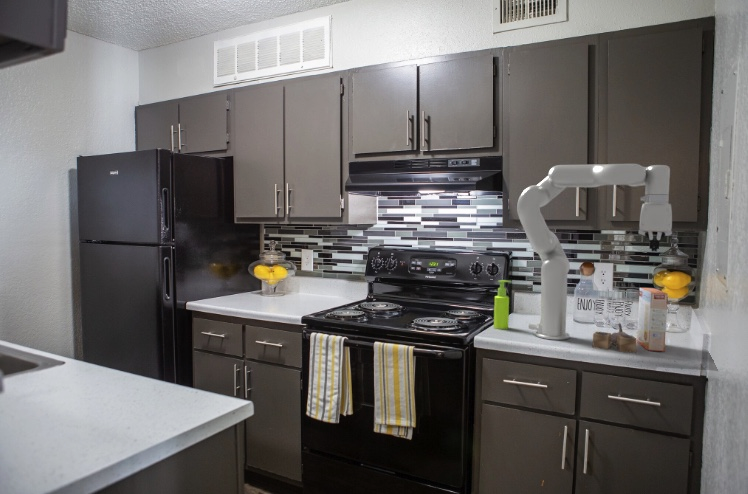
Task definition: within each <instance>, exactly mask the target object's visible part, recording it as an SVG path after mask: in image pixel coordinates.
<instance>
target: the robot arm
mask: <svg viewBox="0 0 748 494" xmlns="http://www.w3.org/2000/svg"><path fill="white" fill-rule="evenodd" d="M670 175H671V169H670V166H668V165H666V164H665V165H664V164H654V165H649V166H643V165H640V164H639V163H608V164H606V163H605V164H600V163H599V164H597V163H594V164H557V165H554V166H552V167H551V168H550V169H549V171H548V173H547V176H546V177H545V178H544V179H543V180H542V181H540V182H539V183H538V184H534V185H529V186H528V187H526V188H525V189H524V190H523V191H522V192H521V194H520V195H519V197H518V200H517V204H516V205H517V206H516V211H517V216H518V218H519V221H520V224H521V227H522V228H523V230H524V233H525V234H526V237H527V238H528V241H529V243H530V246H531V249H532V251H534V252H535V253H536V254H538V256H539V258H540V260H541V262H542V264H541V268H540V280H541V281H540V283H541V285H540V286H541V287H540V288H541V289H540V290H541V291H540V318H539V319H540V320H539V323H537V324H533V323H529V324H528V329H529V330H533V331H534V330H535V331H536V332H535V336H537V337H538V338H542V339H546V340H552V341H553V340H555V341H556V340H559V341H563V340H564V341H565V340H568V339H570V333H568V332H567V331H566V330H567V328H566V327H567V326H566V325H567V301H568V297H567V296H568V293H567V292H568V273H569V272H570V269H571V264H570V261H569V259H568V257H567V255H566V253H565V250H564V249H563V246H562V245H561V242H560V240H559V239H558V236H557V235H556V234H555V233H554V232H553V231H551V230H550V229H549V227H548V225H547V222H546V221H545V218H544V216H543V214H542V213H541V208H542V207H545V206H546V205H548V203H550V202H551V201H552V200H553V199H555V198H556V197H557V196H558V195H560V194H562V193H561V192H564V190H565V189H567V188H597V187H602V186H615V185H616V186H619V185H621V186H629V187H640V186H641V187H642V186H645V191H644V194H645V195H644V196H640V201H643V202H644V203H642V205H641V209H640V215H639V229H638V234H639V235H640V236H641V235H642V236H646V238H647V239H649V250H651V252H657V251H658V250H660V240H661V239H663V238H664V237H665V236H666V237H667V236H671V235H673V231H672V228H673V211H672V204H671V203H669V200H670V199H669V198H670V196H669V194H670ZM653 232H654V233H655V232H657V234H656V238H654V235H653Z"/></svg>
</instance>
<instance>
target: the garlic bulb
mask: <svg viewBox="0 0 748 494" xmlns="http://www.w3.org/2000/svg"><path fill="white" fill-rule="evenodd" d="M617 335H629V334H628V333H626V332H624V331H623V329H622V323H621V322H619V323H618V332H613V333H611V343H612V344H613V346H617Z"/></svg>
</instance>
